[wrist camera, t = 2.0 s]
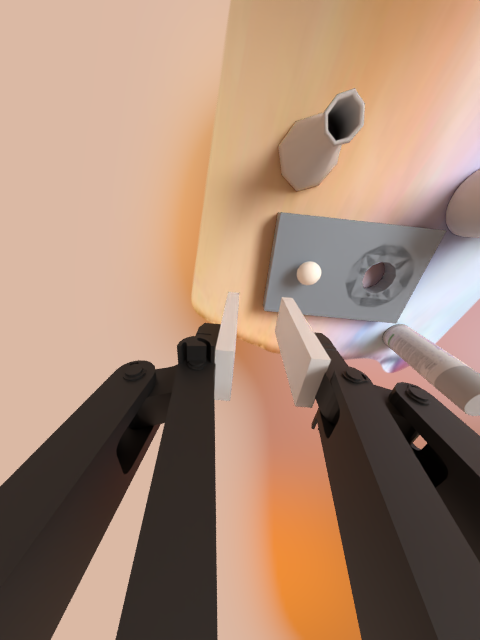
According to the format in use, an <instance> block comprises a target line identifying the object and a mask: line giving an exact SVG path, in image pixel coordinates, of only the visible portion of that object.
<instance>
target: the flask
mask: <svg viewBox="0 0 480 640" xmlns="http://www.w3.org/2000/svg"><path fill="white" fill-rule="evenodd" d="M364 109H365V103H364V101H363V100H362V98H361V97H360V95H359V94H358V92H357V91H356V89H355V88H354V89H351V90H348V91H345V92H342V93H339V94H337V95H336V96H335V98H334V99H333V100H332V102H331V103H330V104H329V106H328V107H327V109H326V110H325V111H324V113H320V114H317V115H314V116H310V117H307V118H304V119H301V120H298V121H296V122H295V123H294V125H293V126H292V127H291V129H290V130H289V132H288V133H287V135H286V136H285V137H284V139H283V140H282V142H281V143H280V144H279V146H278V148H279V157H280V166H281V174H282V176H283V177H284V178H285V179H286V180H287V181H288V182H289V183H290V184H291V186H292V187H293V188H294V189H295V190H296V191H300V190H304V189H307V188H311V187H314V186H318V185H319V184H320V183H321V182H322V181H323V180H324V179H325V177H326V176H327V175H328V174H329V173H330V171H331V170H332V169H333V168H334V167H335V165H336V164H337V162H338V157H339V152H340V149H341V146H342V144H345V143H349V142H350V141H351V140H352V139H353V137H354V136H355V135H356V134H357V133H358V131H359V130H360V129H361V128H362V127H363V125H364Z"/></svg>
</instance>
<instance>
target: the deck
mask: <svg viewBox="0 0 480 640" xmlns="http://www.w3.org/2000/svg"><path fill="white" fill-rule="evenodd" d="M446 231H447V230H437V229H428V228H419V227H410V226H401V225H392V224H383V223H374V222H364V221H355V220H346V219H337V218H328V217H319V216H310V215H300V214H291V213H282V212H280V213H278V215H277V221H276V227H275V234H274V240H273V246H272V252H271V258H270V264H269V270H268V276H267V282H266V288H265V295H264V301H263V308H264V311H272V312H279V308H280V303H281V299H282V297H287V298H293V299H294V301H295V302H296V304H297V306H298V307H299V309H300V311H301V312H302V314H303V315H314V316H324V317H335V318H345V319H355V320H366V321H376V322H387V323H397V321H398V319H399V317H400V315H401V313H402V312H403V310H404V308H405V306H406V304H407V302H408V301H409V299H410V297H411V295H412V293H413V291H414V289H415V288H416V286H417V284H418V282H419V280H420V278H421V277H422V275H423V273H424V271H425V269H426V267H427V266H428V264H429V262H430V260H431V258H432V256H433V255H434V253H435V251H436V249H437V247H438V245H439V243H440V242H441V240H442V238H443V236H444V234H445V232H446ZM309 261H311V262H315V263H317V264H318V265H319V266H320V268H321V276H320V279H319V280H318V281H317V282H316V283H314V284H312V285H304V284H302V283H300V282H299V280H298V278H297V270H298V268H299V267H300V265H302V264H303V263H305V262H309ZM380 262H382V263H383V264H384V267H385V273H384V275H383V277H382V279H381V280H380V281H379V282H378V283H377V284H376V285H374V286H372V287H369V288H363V283H362V280H363V277H364V275H365V272H366V271H367V270H368V269H370V268H371V267H372V266H373V265H375V264H378V263H380Z"/></svg>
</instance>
